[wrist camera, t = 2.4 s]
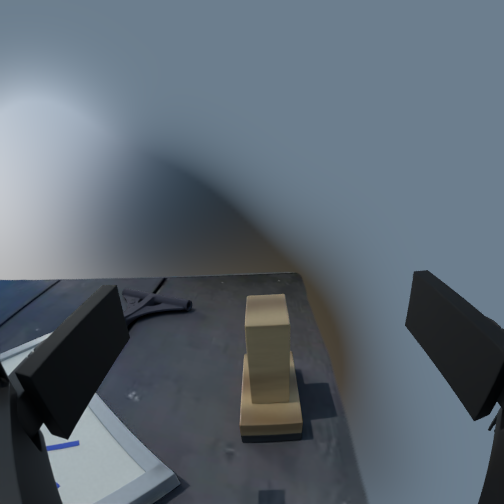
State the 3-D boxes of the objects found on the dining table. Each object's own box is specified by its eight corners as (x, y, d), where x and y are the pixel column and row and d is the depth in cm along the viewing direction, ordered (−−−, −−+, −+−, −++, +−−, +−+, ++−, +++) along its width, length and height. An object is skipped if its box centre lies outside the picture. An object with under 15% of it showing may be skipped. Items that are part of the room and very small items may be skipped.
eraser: (301, 439, 21) (308, 343, 18) (241, 442, 21) (228, 347, 18) (291, 369, 31) (292, 281, 28) (245, 371, 31) (238, 284, 28)
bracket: (68, 332, 39) (63, 316, 38) (129, 294, 52) (126, 280, 51) (130, 360, 33) (124, 342, 32) (193, 308, 46) (190, 292, 45)
